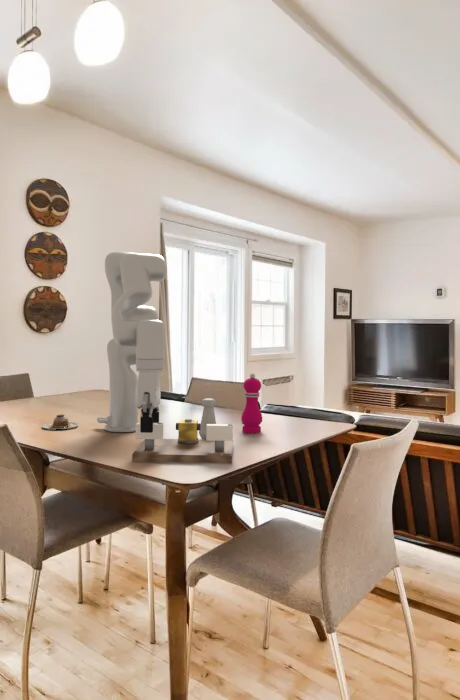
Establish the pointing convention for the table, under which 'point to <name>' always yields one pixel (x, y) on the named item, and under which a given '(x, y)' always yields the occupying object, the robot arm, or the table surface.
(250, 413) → the pepper mill
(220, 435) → the knob right
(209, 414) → the salt shaker
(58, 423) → the pastry
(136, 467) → the table surface
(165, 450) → the level base
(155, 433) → the knob left
